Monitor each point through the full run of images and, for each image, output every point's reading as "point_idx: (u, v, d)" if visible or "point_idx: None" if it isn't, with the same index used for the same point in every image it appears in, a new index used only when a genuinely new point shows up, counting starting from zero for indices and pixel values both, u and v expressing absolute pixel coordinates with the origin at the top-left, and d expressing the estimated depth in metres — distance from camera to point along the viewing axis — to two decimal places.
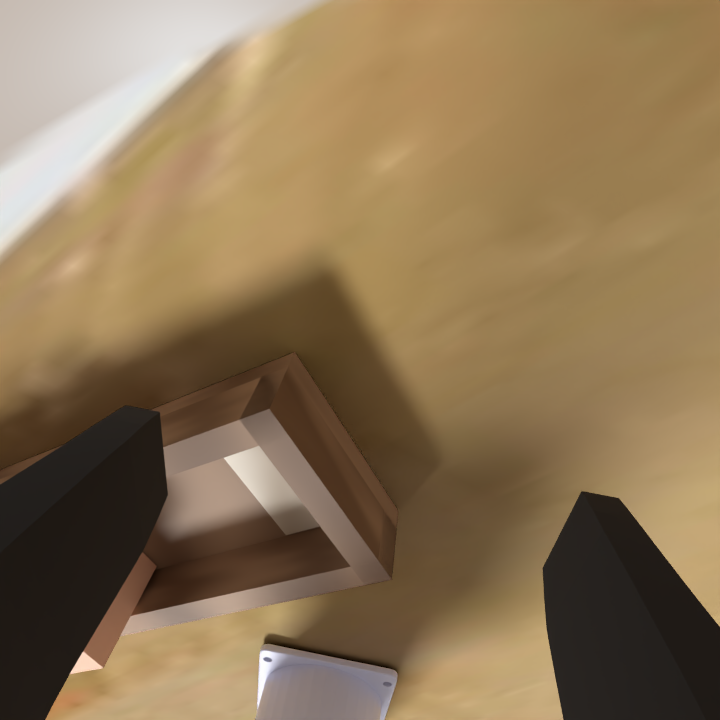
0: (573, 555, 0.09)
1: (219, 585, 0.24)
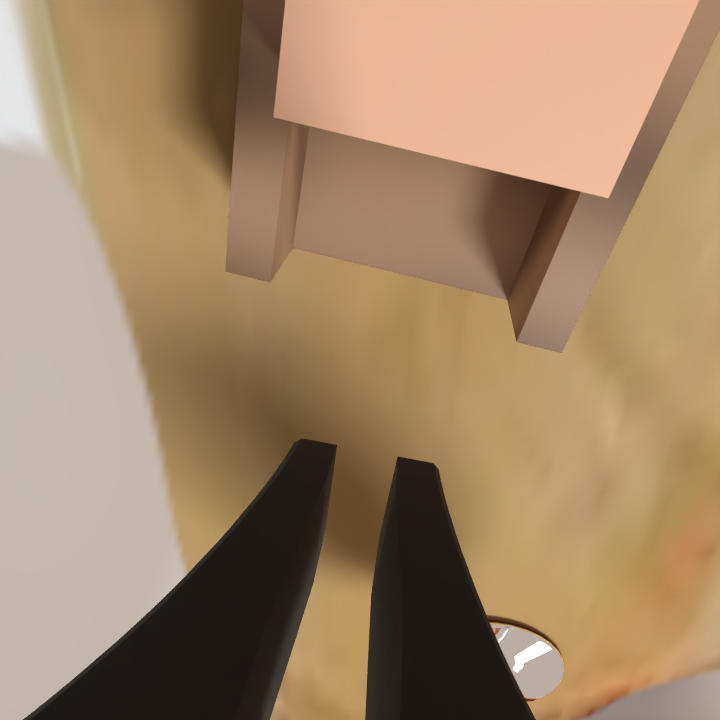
0: (386, 519, 0.09)
1: None
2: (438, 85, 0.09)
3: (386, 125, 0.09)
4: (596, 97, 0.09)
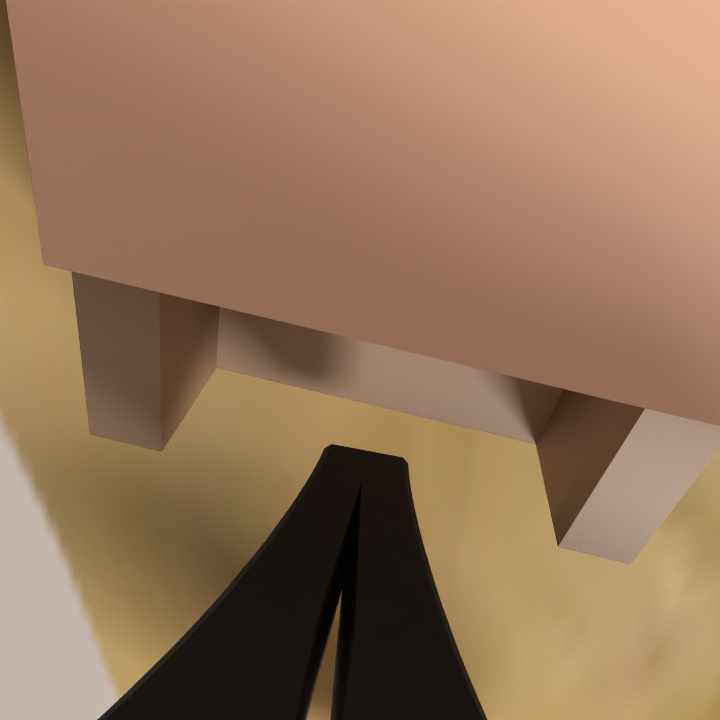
0: None
1: None
2: (418, 207, 0.03)
3: (298, 289, 0.04)
4: None
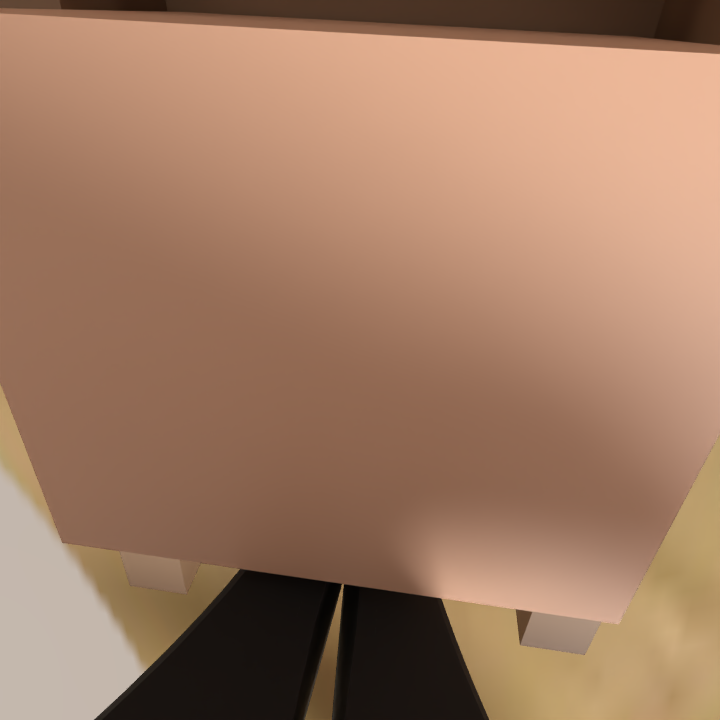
0: None
1: None
2: (293, 506, 0.05)
3: (230, 549, 0.06)
4: (567, 516, 0.05)
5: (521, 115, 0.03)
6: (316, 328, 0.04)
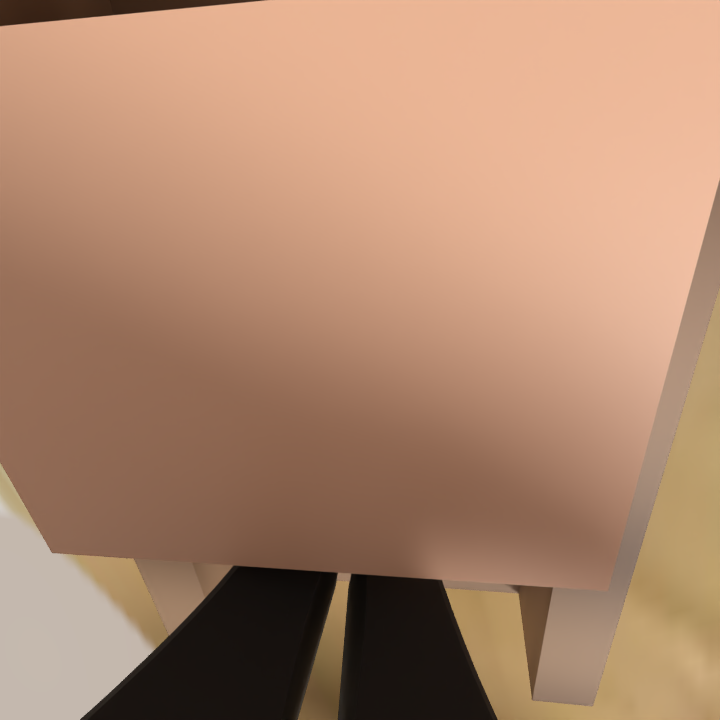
0: None
1: None
2: (258, 496, 0.05)
3: (208, 545, 0.06)
4: (529, 481, 0.05)
5: (391, 64, 0.03)
6: (240, 310, 0.04)
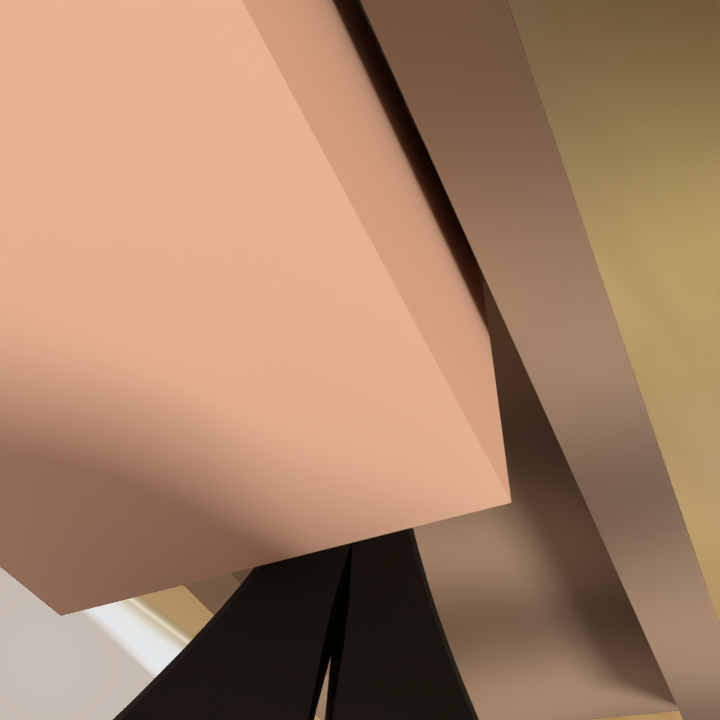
0: None
1: None
2: (158, 511, 0.06)
3: (157, 571, 0.06)
4: (351, 415, 0.05)
5: None
6: (31, 354, 0.05)
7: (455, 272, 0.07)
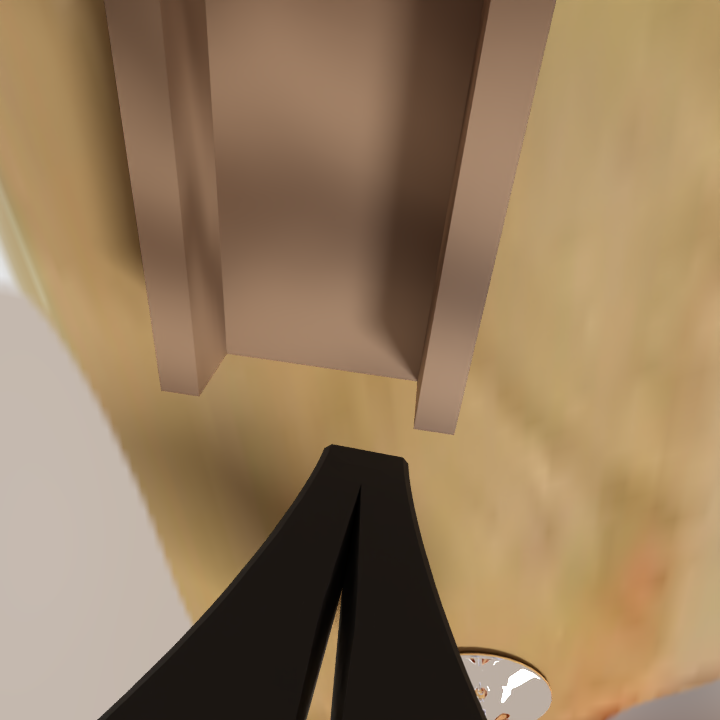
0: None
1: None
2: None
3: None
4: None
5: None
6: None
7: None
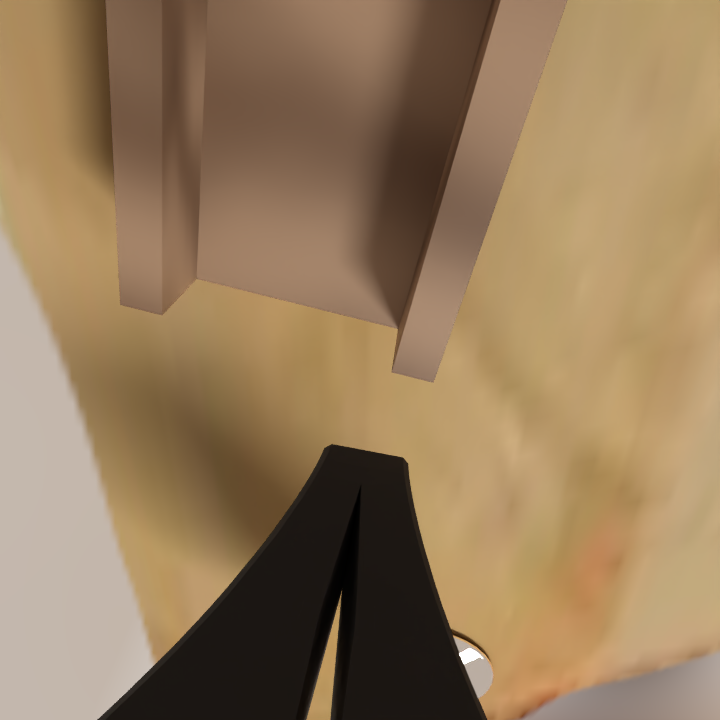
0: None
1: None
2: None
3: None
4: None
5: None
6: None
7: None
